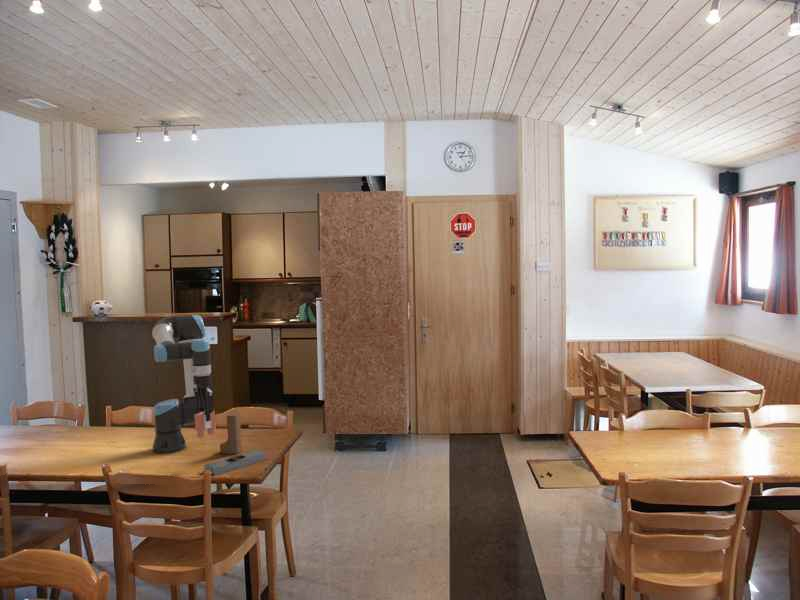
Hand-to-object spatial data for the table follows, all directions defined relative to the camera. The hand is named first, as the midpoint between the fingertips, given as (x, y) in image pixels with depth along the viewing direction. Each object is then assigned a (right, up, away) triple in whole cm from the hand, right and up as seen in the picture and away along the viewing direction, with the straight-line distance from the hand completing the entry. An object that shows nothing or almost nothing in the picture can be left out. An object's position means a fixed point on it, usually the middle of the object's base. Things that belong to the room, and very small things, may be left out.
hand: (205, 427), depth 270 cm
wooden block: (+6, -16, +19) cm, 26 cm away
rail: (+14, -17, 0) cm, 21 cm away
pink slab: (0, -4, 0) cm, 4 cm away
